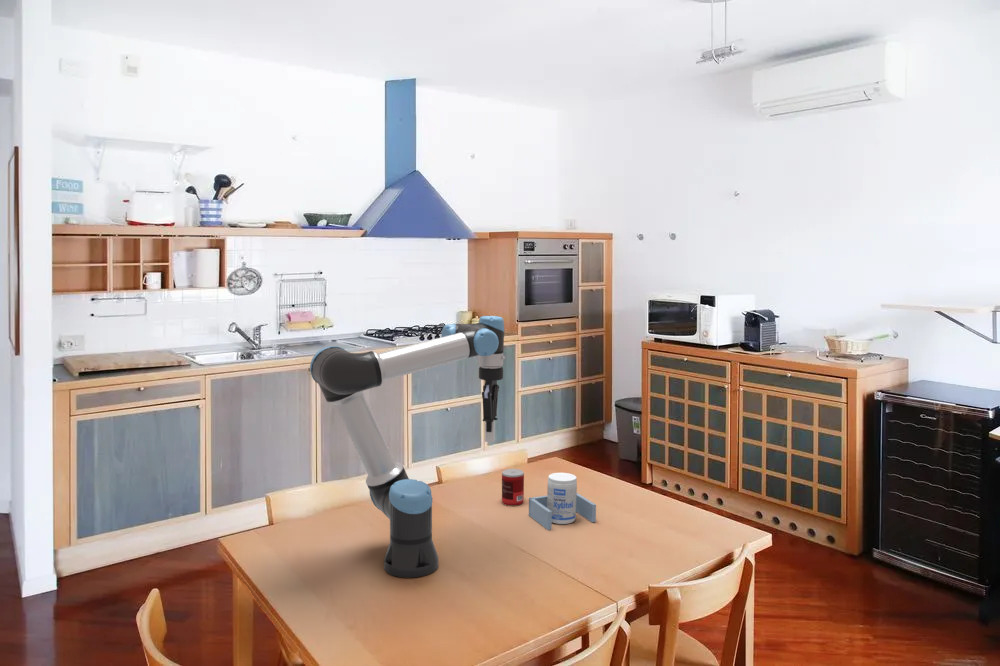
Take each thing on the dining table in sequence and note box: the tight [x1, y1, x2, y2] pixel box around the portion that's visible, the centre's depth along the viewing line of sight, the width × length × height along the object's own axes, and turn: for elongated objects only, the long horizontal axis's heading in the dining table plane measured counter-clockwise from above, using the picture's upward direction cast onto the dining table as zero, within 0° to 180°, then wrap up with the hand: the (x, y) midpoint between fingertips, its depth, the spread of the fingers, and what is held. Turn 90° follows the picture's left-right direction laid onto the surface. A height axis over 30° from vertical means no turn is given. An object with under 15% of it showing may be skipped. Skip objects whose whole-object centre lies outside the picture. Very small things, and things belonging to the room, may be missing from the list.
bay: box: [528, 492, 597, 531], centre depth 246 cm, size 14×17×6 cm
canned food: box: [501, 468, 525, 506], centre depth 262 cm, size 8×8×11 cm
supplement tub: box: [546, 472, 578, 525], centre depth 245 cm, size 10×10×15 cm
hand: (489, 441), depth 232 cm, fingers closed
